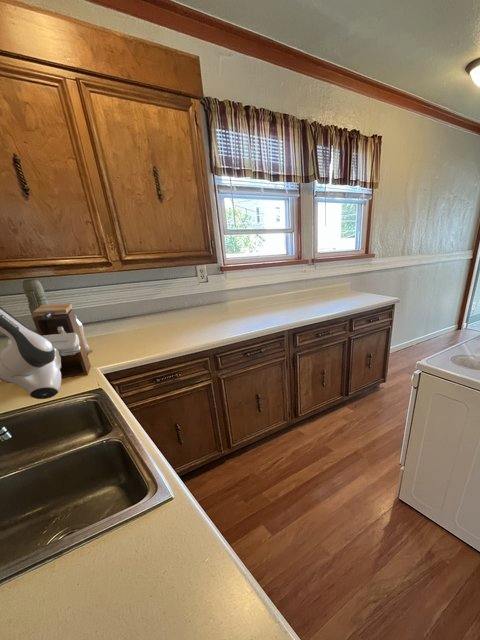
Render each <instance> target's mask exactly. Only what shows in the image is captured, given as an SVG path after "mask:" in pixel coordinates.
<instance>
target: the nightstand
mask: <svg viewBox="0 0 480 640" xmlns="http://www.w3.org/2000/svg"><path fill="white" fill-rule="evenodd" d="M75 314H76V313H75V311H74V309H73V308H71V310H70V311H69V312H68V313H67V314H59V315H52V316H51V317H50V318H49V319H48V320H44V319H43V318H42V316H34V317H32V321H33V323H34V326H35V329H36V332H37V333H38V334H40V335H42V336H43V335H54V334H61V333H59V331H58V330H57V329H58V328H57V327H63V329H64V331H65V332H66V333H75V334H77V336H78V338H79V346H80V352H78V353H76V354H75V355H67V356H61V368H60V372H61V380H62V379H68V378H69V377H70V378H75V377H76V376H77V377H83V376H89V373H90V369H91V367H92V366H91V361H90V359H89V356H88V354H87V352H86V349H85V346H84V343H83V340H82V336H81V333H80V330H79V327H78V324H77V320H78V319H77V320H76V317H75ZM70 378H69V379H70Z"/></svg>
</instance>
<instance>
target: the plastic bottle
mask: <svg viewBox="0 0 480 640" xmlns="http://www.w3.org/2000/svg"><path fill="white" fill-rule="evenodd" d="M74 314H75V317H76V320H77V324H78V327H79V330H80V333H81V336H82V340H83V343H84V346H85V349H86V352H87V355H88V354H90V353H91V348H90V346H89V344H88V342H87V338H86V336H85V331H84V324H83V323H82V322H81V321H80V320H79V319H78V316H77V314H76V313H74Z"/></svg>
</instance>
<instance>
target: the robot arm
mask: <svg viewBox="0 0 480 640" xmlns="http://www.w3.org/2000/svg"><path fill="white" fill-rule="evenodd" d="M57 328H58V329H57V330H58V331H59V333H61V334H54V335H43V336H42V335H40V334H38V332H37V331H35V330H33V329H31V328H30V327H29V326H27V325H26V324H25V323H24V322H22V321H21V320H19V319H18V318H17V317H16V316H14V315H13V314H12V313H10V312H9V311H7V310H6V309H5V308H4V307H2V306H1V305H0V332H1V334H4V335H5V336H6V337H8V338H9V339H8V340H7V344H6V345H7V347H5V348H4V349H2V350H0V381H2V382H5V383H9V384H13V385H15V386H17V387H19V388H21V389H22V390H24V391H25V393H27V394H28V396H30V397H31V398H33V399H37V400H45V399H50V398H53V397H54V396H56V395H57V394H58V393H60V390H61V386H62V379H61V372H60V368H61V356H67V355H75V354H76V353H78V352H80V346H79V338H78V336H77V334H75V333H66V332H65V331H64V329H63V327H57Z"/></svg>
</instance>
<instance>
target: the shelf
mask: <svg viewBox="0 0 480 640" xmlns="http://www.w3.org/2000/svg"><path fill="white" fill-rule="evenodd" d="M49 304H50V303H49ZM71 309H73V303H72V302H69V303H68V302H67V303H51V304H50V305H41V306H40V307H39V308H37V309H36V310H35V311H33V312H32V313H33V316H42V318H43V319H44V320H48V319H49V318H50V317H51V316H52V315H59V314H67V313H68V312H69V311H70V310H71Z"/></svg>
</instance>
